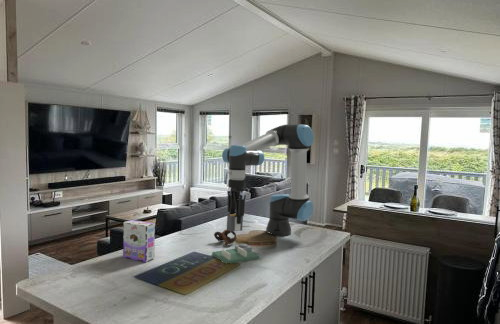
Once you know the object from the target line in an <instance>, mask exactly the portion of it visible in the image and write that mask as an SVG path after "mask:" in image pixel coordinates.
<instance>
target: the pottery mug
mask: <svg viewBox="0 0 500 324" xmlns="http://www.w3.org/2000/svg"><path fill="white" fill-rule="evenodd" d="M236 233H237V232H236V231H232V232H230V231H229V230H227V229H224V230H223V231H222V232H220V231H216V232H214V234H213V236H214V238H215V240H217V242H219V243H220V242H222V241H224V243H223V245H224V246H226V247H227V246H229V245H231V244H234V243H235V242H236V241H237V234H236ZM229 234H232V235H234V236H233V237H232V238H231V237H230V236H229Z"/></svg>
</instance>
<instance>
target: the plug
mask: <svg viewBox="0 0 500 324" xmlns="http://www.w3.org/2000/svg"><path fill="white" fill-rule="evenodd" d="M226 216H227V217H226V230H229V231H230V232H232V231H234V227H235V216H236V213H235V214H229V213H228V214H227V215H226ZM243 220H244V216H241V226H240V230H239V231H241V232H242V231H243V223H244V221H243ZM239 231H238V232H239ZM234 232H235V231H234Z"/></svg>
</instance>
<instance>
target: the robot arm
mask: <svg viewBox="0 0 500 324" xmlns="http://www.w3.org/2000/svg"><path fill="white" fill-rule="evenodd" d="M314 137H315V134H314V132H313V129H312V128H311V127H310V126H309V125H307V124H302V123H301V124H282V125H279V126H276V127H274V128H271V129H270V130H267V131H266V132H265V134H262V135H260V136H257V137H255V138H253V139H251V140H249V141H246V142H244V143H241V144H240V145H237V144H235V145H230V146H229V147H227V148H225V149H223V151H222V153H221V156H222V160H223V162H225V163H228V182H227V183H228V186H227V187H229V188H230V190H227V192H226V193H227V212H228V214H236V216H235V227H234V232H239V230H240V226H241V216H243V217H244V216H245V205H246V196H247V195H246V194H243V189H244V188H245V187H246V180H245V179H246V167H247V166H250V167H251V166H255V167H256V166H261V165H263V163H264V161H265V154H264V152H263V151H264V150H266V149H268V148H270V147H273V148H274V147H277V146H280V145H282V146H288V150H289V151H290V169H291V170H290V174H291V176H290V178H291V179H290V182H291V183H290V187H291V188H290V191H291V192H290V194H289V193H286V194H285V193H281V194H273V195H271V196H270V199H269V218H268V222H267V225H266V228H265V232H266V231H267V232H270V233H272V234H274V235H273V236H275V235H276V236H278V237H285V236H290V235H291V234H292V228H291V223H290V219H292V220H297V221H303V222H306V221H307V220H309V219H310V218H311V216H312V215H313V212H314V203H313V202H312V201H311V200H310V195H308V193H307V167H308V166H307V159H308V158H307V153H308V151H309V150H310V146H312V145H313V143H314V141H315V138H314Z"/></svg>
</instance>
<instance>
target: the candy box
mask: <svg viewBox="0 0 500 324" xmlns="http://www.w3.org/2000/svg"><path fill="white" fill-rule="evenodd" d="M122 231H123V232H122V255H123V256H122V258H126V259H129V260H133V261H138V262H143V263H147V262H150V261H152V260H155V238H156V237H155V236H156V235H155V231H156V223H153V222H145V221H140V220H135V219H131V220H126V221H124V222H122Z"/></svg>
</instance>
